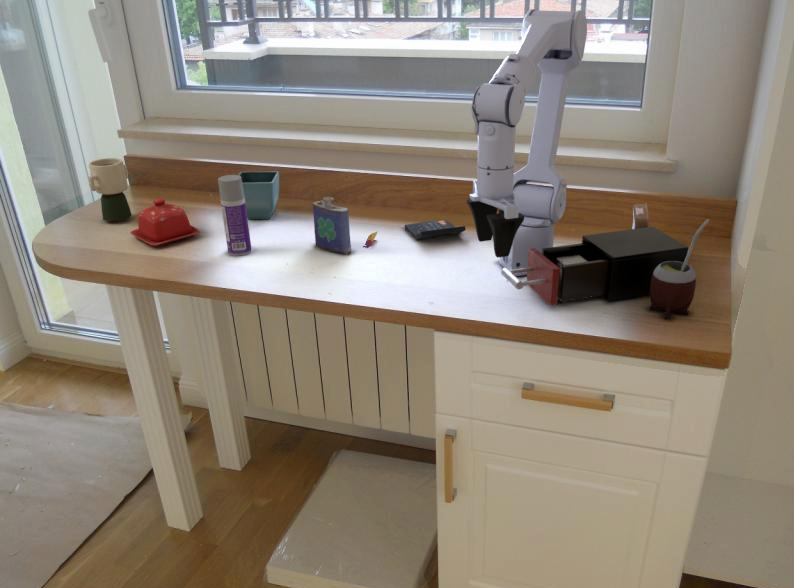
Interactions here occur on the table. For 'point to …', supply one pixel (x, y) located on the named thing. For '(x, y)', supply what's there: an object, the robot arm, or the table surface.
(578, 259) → the steel block
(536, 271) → the drawer
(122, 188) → the character mug
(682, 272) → the mate gourd
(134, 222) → the table surface
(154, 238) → the butter dish
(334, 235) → the flask
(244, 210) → the container
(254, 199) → the flower pot
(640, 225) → the tin
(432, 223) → the calculator
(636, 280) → the black storage chest
